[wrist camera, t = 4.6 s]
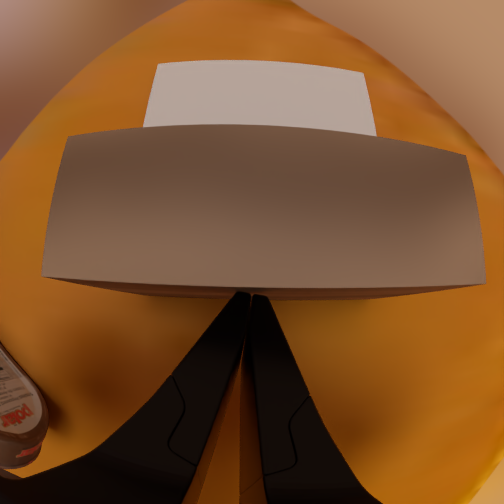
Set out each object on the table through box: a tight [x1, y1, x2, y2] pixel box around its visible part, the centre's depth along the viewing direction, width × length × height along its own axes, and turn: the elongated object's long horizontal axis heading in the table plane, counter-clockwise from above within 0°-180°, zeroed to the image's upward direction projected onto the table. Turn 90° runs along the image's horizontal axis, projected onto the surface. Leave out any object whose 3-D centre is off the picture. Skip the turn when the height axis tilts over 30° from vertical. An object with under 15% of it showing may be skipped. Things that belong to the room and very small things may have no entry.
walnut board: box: [41, 124, 486, 300], centre depth 11 cm, size 4×12×9 cm, turn 89°
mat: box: [143, 60, 376, 136], centre depth 16 cm, size 10×14×1 cm
